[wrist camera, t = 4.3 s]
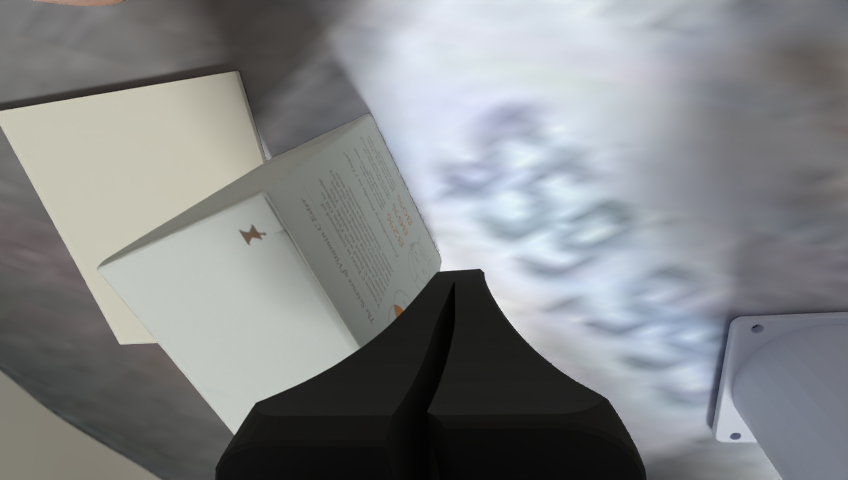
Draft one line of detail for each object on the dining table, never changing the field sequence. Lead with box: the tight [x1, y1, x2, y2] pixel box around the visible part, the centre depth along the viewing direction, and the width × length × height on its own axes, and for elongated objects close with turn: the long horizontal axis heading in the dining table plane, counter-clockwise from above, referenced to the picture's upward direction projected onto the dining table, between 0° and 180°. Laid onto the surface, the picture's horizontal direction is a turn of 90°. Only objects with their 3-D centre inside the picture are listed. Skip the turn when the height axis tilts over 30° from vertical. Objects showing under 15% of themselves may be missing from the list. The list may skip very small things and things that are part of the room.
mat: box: [0, 71, 266, 344], centre depth 23 cm, size 13×14×1 cm
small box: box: [97, 114, 441, 435], centre depth 16 cm, size 8×6×10 cm
